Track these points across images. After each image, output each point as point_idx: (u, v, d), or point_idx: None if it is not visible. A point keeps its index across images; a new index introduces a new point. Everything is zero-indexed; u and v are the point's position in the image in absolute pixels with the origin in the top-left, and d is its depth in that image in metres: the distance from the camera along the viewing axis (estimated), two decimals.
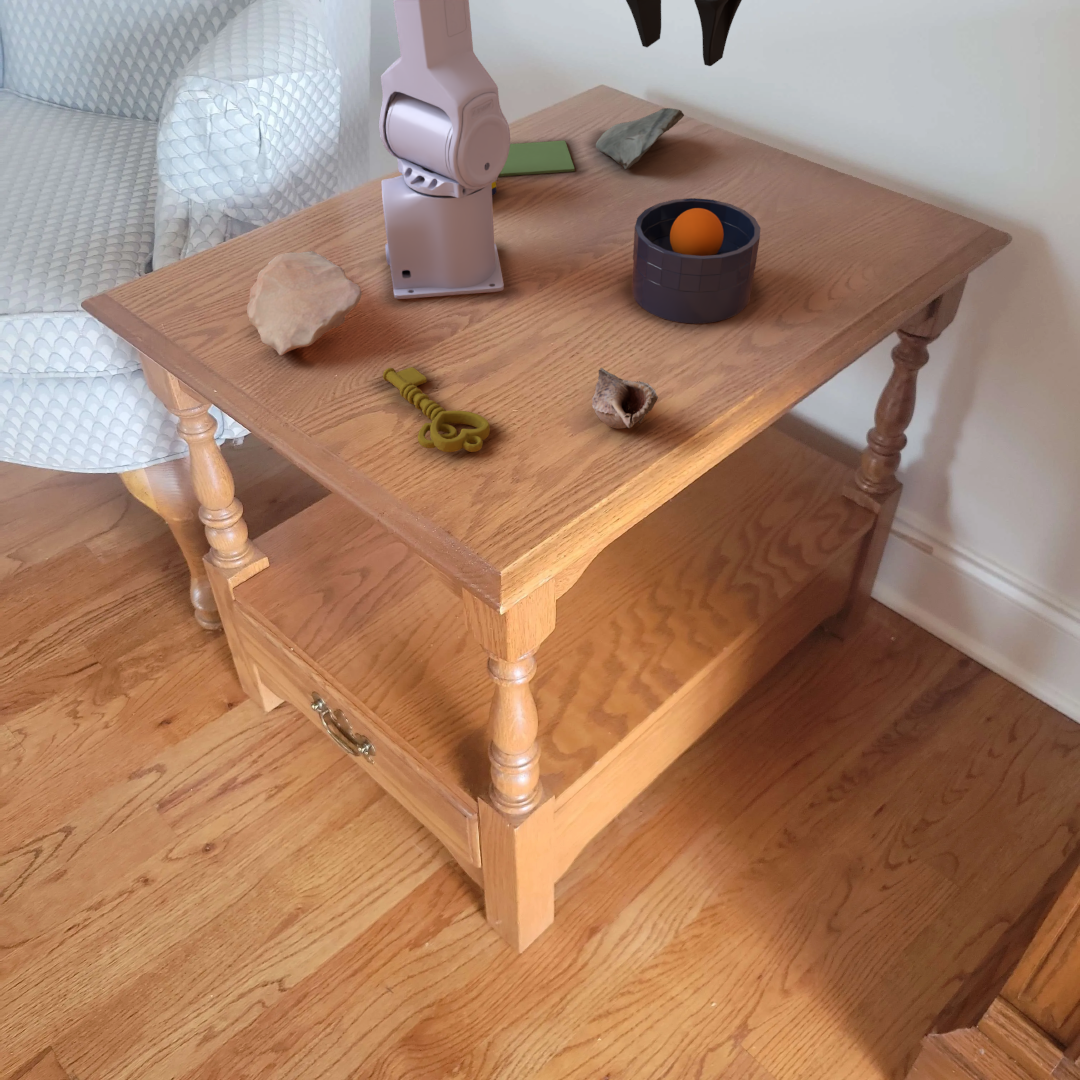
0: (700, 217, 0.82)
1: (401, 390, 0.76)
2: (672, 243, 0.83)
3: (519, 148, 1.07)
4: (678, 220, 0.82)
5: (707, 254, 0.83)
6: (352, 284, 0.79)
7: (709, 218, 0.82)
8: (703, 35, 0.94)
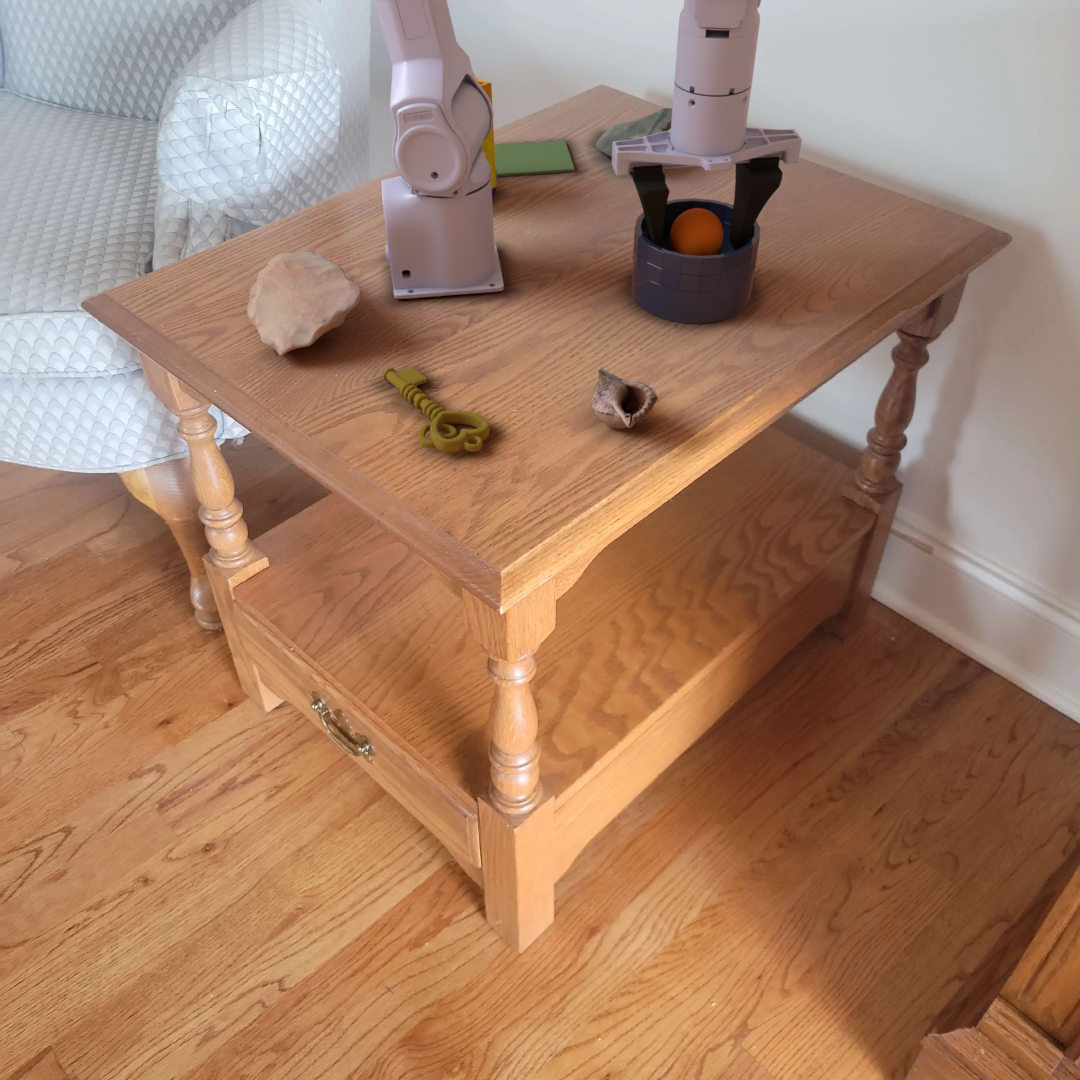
0: (700, 217, 0.82)
1: (401, 390, 0.76)
2: (672, 243, 0.83)
3: (519, 148, 1.07)
4: (678, 220, 0.82)
5: (707, 254, 0.83)
6: (352, 284, 0.79)
7: (709, 218, 0.82)
8: None
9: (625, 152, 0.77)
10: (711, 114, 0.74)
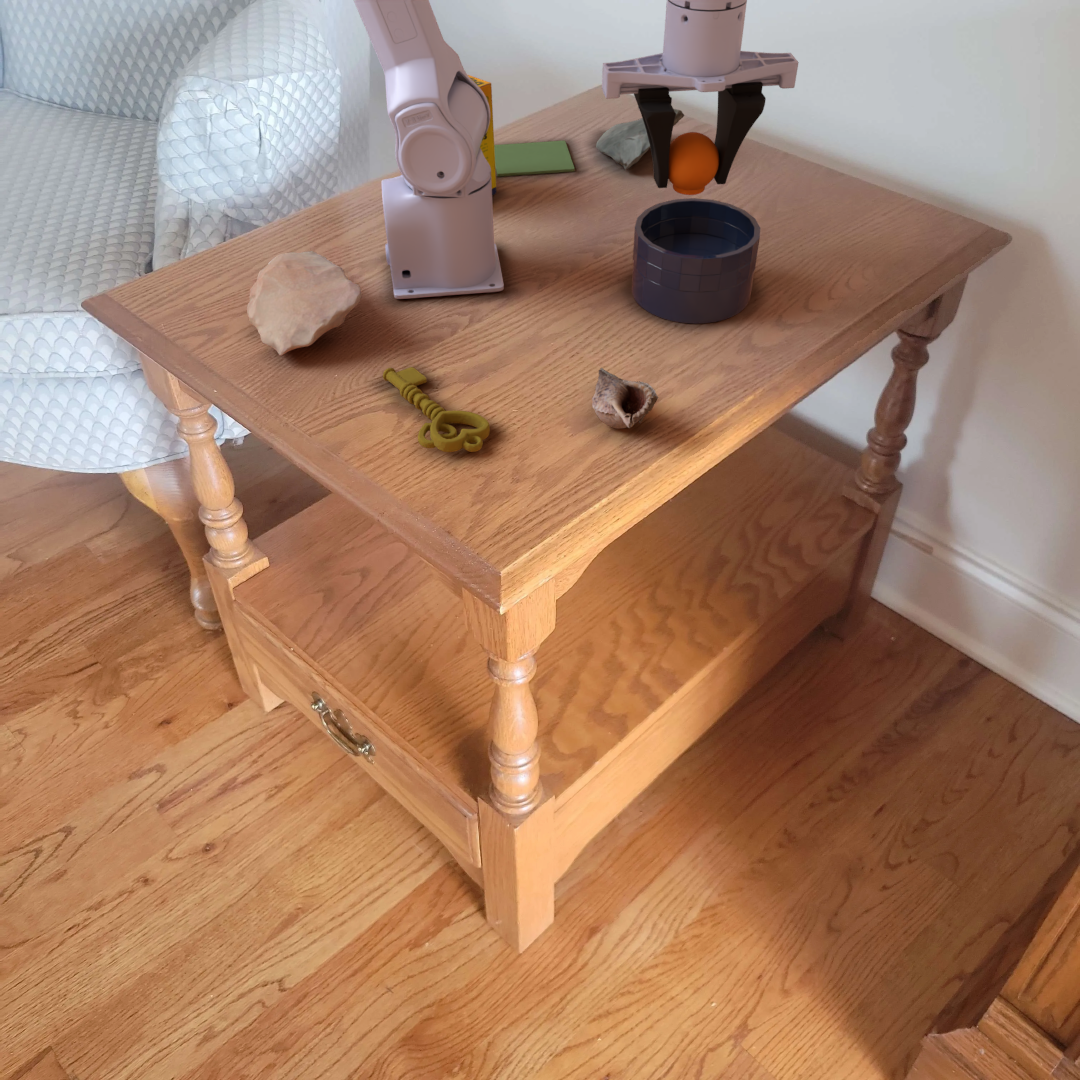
0: (695, 140, 0.79)
1: (401, 390, 0.76)
2: None
3: (519, 148, 1.07)
4: (672, 144, 0.79)
5: (702, 180, 0.80)
6: (352, 284, 0.79)
7: (704, 141, 0.79)
8: None
9: (615, 73, 0.74)
10: (705, 31, 0.71)
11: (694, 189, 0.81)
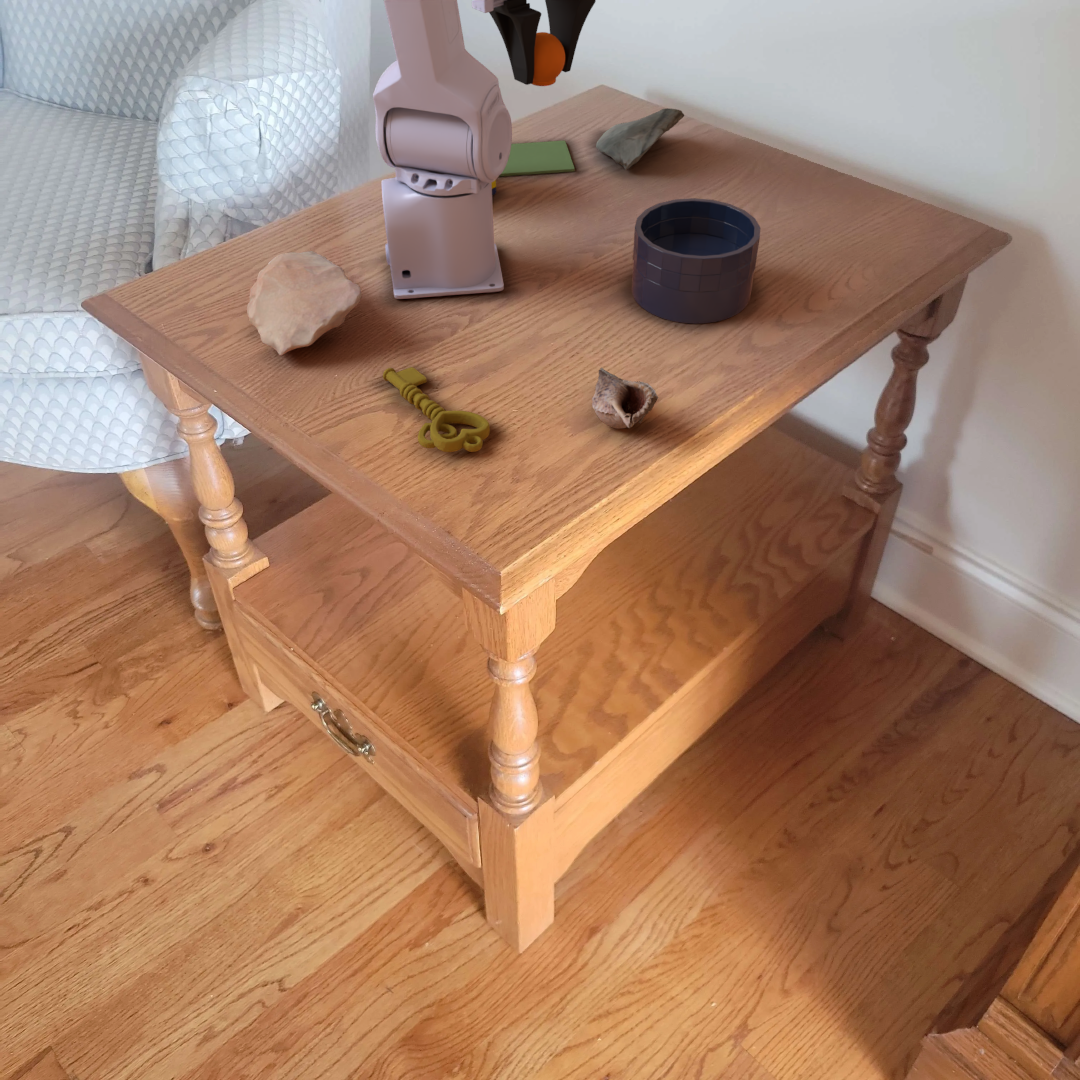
0: (546, 37, 0.95)
1: (401, 390, 0.76)
2: None
3: (519, 148, 1.07)
4: None
5: (559, 69, 0.96)
6: (352, 284, 0.79)
7: (553, 37, 0.95)
8: None
9: None
10: None
11: (552, 79, 0.97)
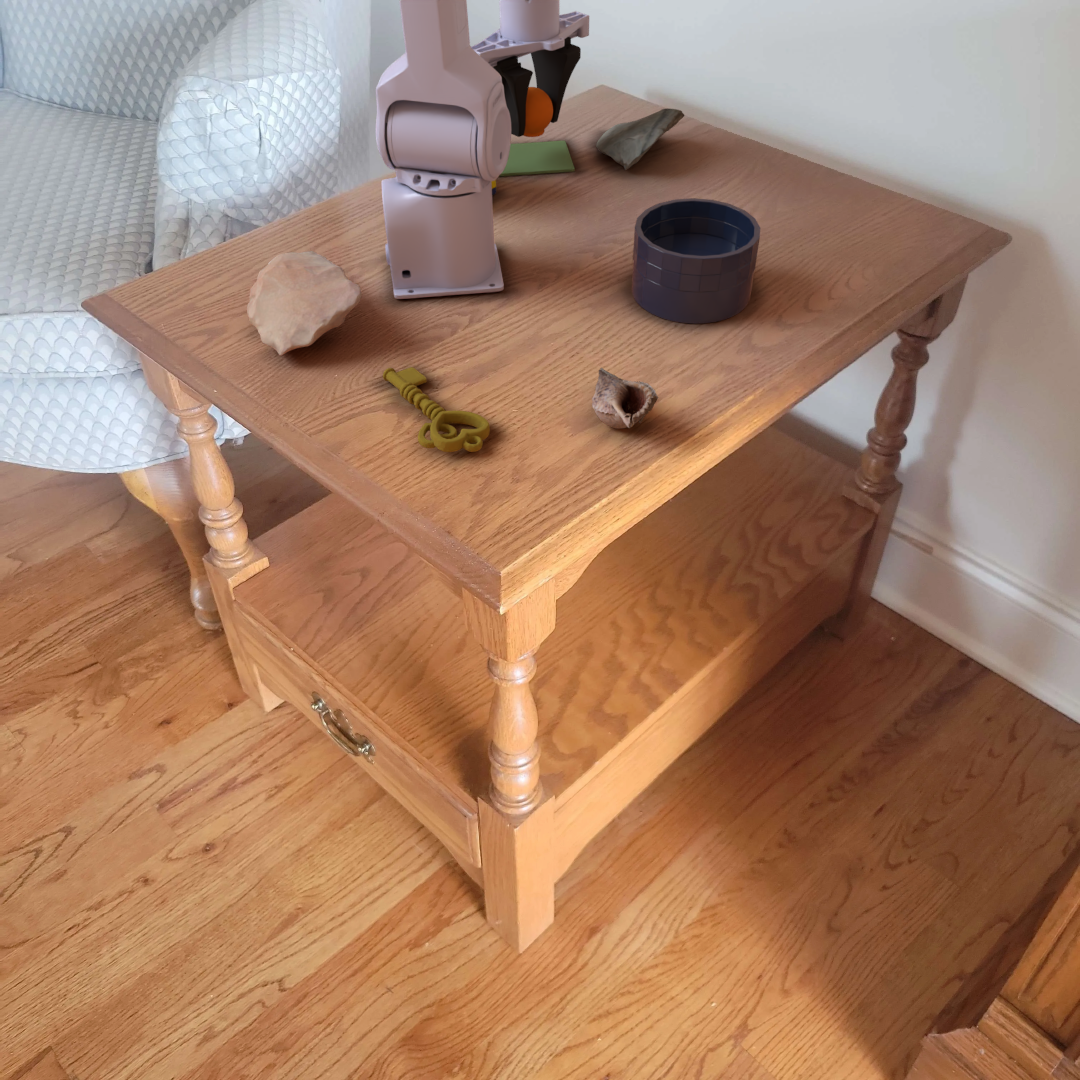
0: (535, 92, 1.01)
1: (401, 390, 0.76)
2: None
3: (519, 148, 1.07)
4: None
5: (549, 120, 1.02)
6: (352, 284, 0.79)
7: (541, 91, 1.01)
8: None
9: (485, 52, 0.94)
10: (544, 4, 0.93)
11: (542, 130, 1.03)
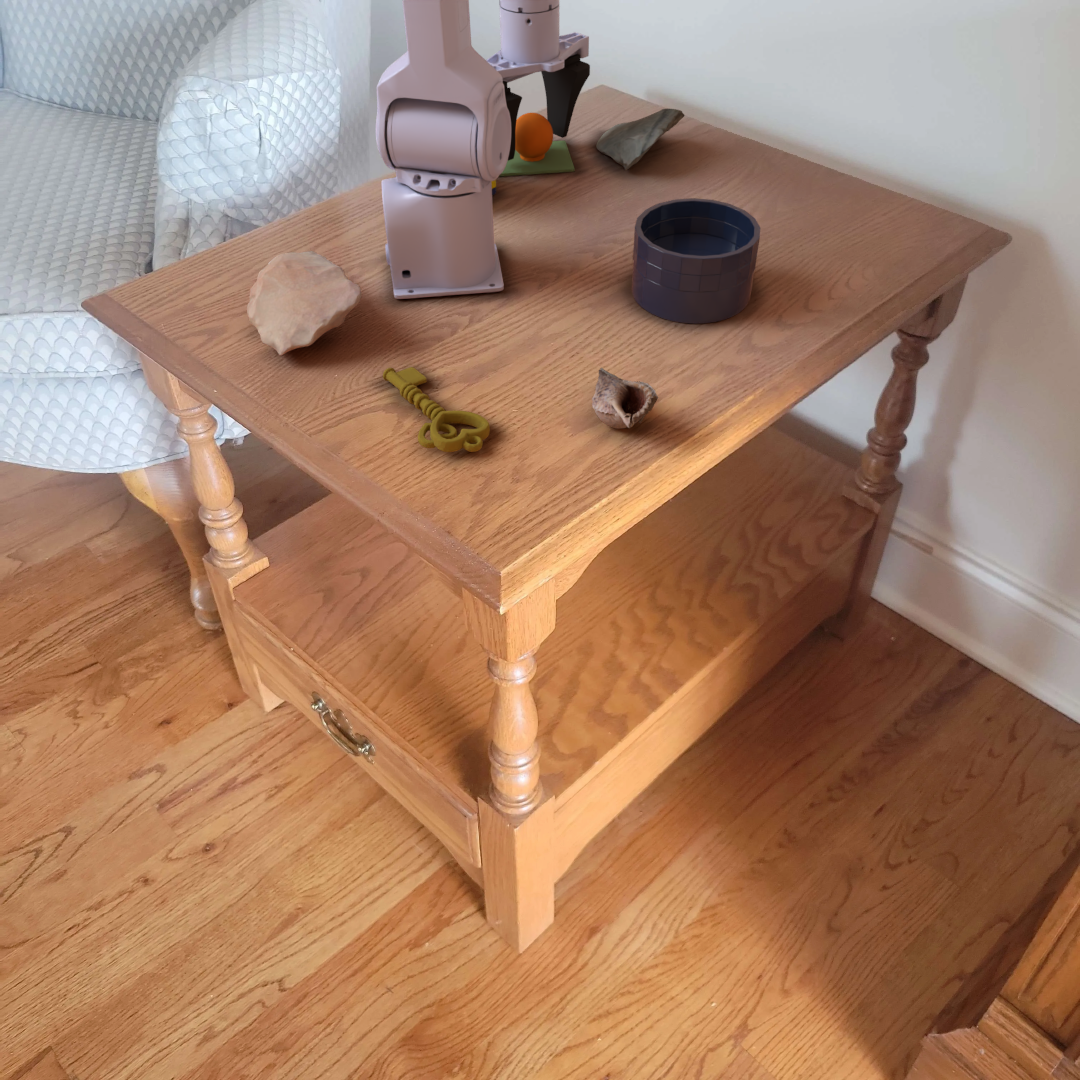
0: (536, 118, 1.03)
1: (401, 390, 0.76)
2: (520, 145, 1.03)
3: None
4: (520, 126, 1.03)
5: (549, 145, 1.04)
6: (352, 284, 0.79)
7: (541, 117, 1.03)
8: None
9: None
10: (545, 26, 0.95)
11: (542, 155, 1.05)
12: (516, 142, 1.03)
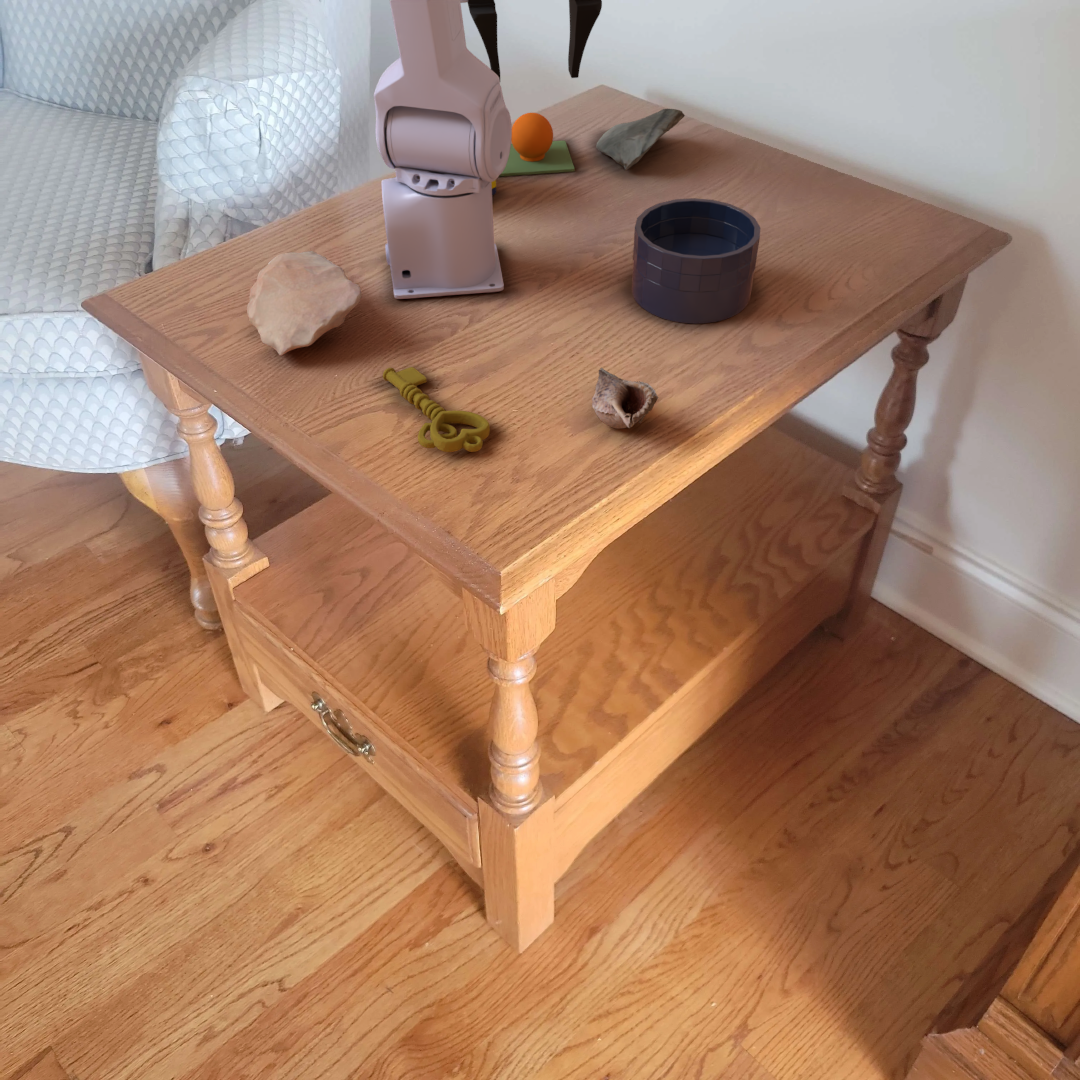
0: (536, 118, 1.03)
1: (401, 390, 0.76)
2: (520, 145, 1.03)
3: None
4: (520, 126, 1.03)
5: (549, 145, 1.04)
6: (352, 284, 0.79)
7: (541, 117, 1.03)
8: (574, 46, 0.96)
9: None
10: None
11: (542, 155, 1.05)
12: (516, 142, 1.03)
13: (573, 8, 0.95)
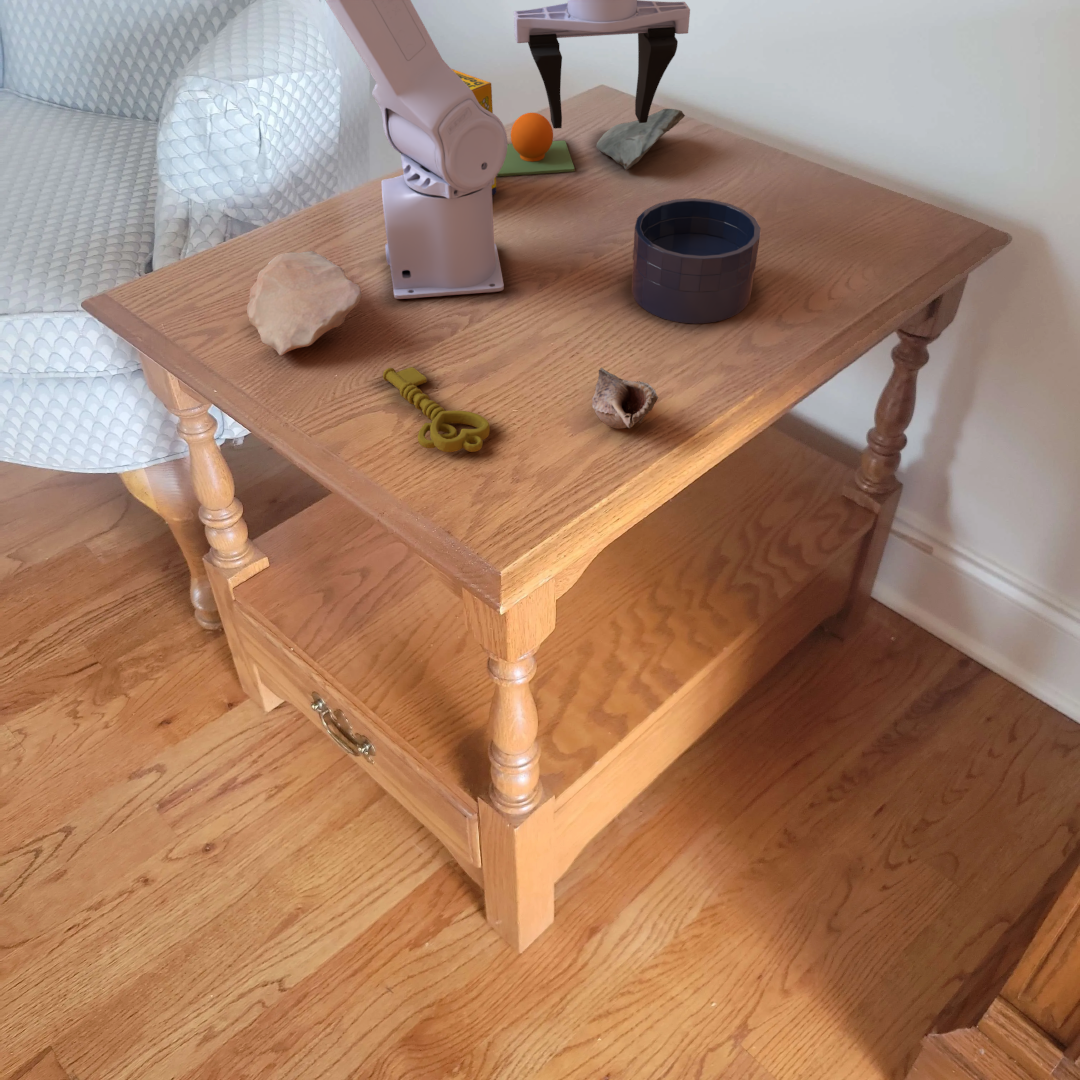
0: (536, 118, 1.03)
1: (401, 390, 0.76)
2: (520, 145, 1.03)
3: None
4: (520, 126, 1.03)
5: (549, 145, 1.04)
6: (352, 284, 0.79)
7: (541, 117, 1.03)
8: (644, 89, 0.87)
9: (677, 2, 0.85)
10: None
11: (542, 155, 1.05)
12: (516, 142, 1.03)
13: (644, 48, 0.86)
